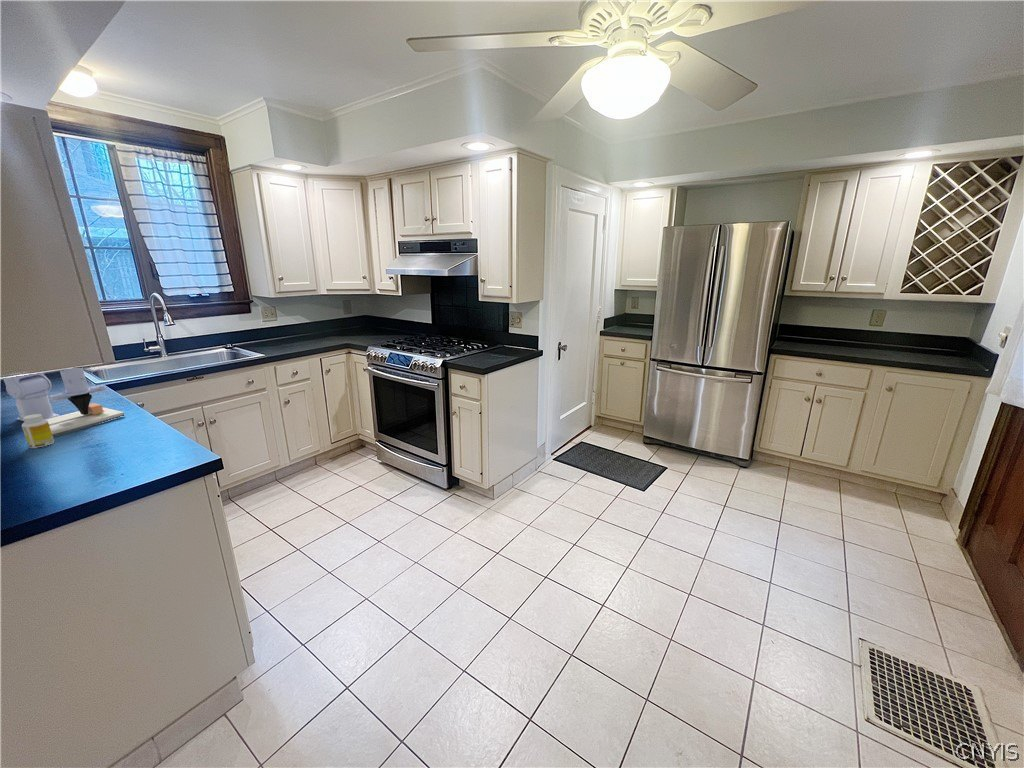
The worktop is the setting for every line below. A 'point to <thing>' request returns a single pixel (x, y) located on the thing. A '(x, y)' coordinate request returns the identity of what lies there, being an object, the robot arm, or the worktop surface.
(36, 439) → the supplement bottle
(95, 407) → the switch
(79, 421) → the white flat board
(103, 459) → the worktop surface
